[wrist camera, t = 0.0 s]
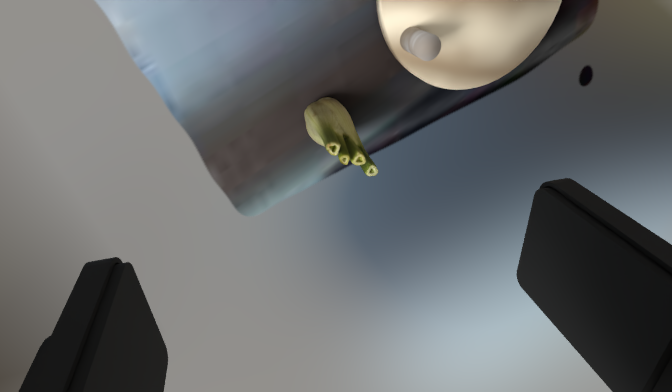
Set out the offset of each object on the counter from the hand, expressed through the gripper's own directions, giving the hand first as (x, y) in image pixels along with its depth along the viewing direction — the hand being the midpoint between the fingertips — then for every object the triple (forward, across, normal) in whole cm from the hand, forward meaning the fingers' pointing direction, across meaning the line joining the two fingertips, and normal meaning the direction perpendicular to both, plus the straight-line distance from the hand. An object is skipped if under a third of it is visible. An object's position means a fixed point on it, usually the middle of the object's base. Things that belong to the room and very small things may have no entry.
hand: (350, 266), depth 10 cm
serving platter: (+37, -22, -2) cm, 43 cm away
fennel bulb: (+37, -6, +10) cm, 39 cm away
